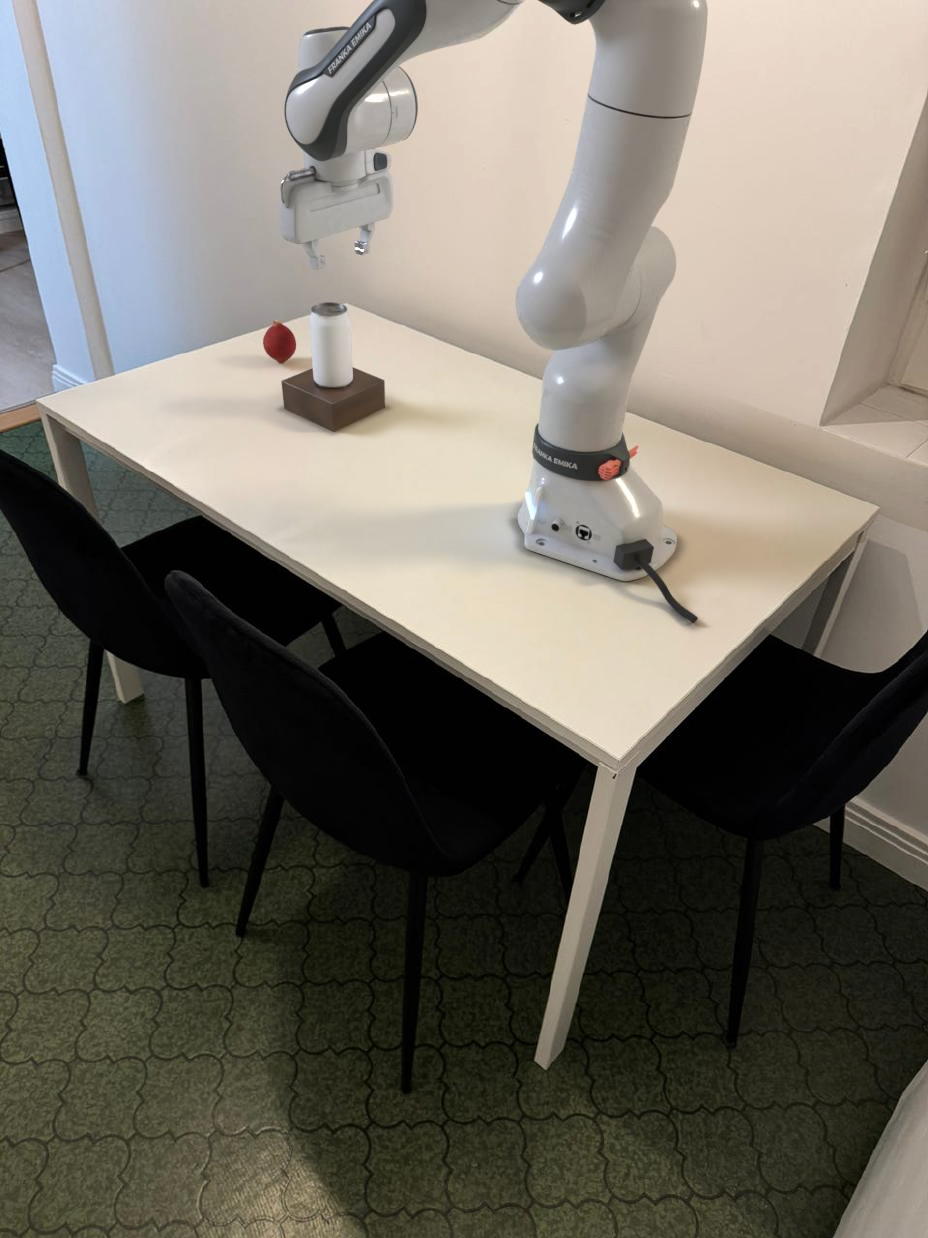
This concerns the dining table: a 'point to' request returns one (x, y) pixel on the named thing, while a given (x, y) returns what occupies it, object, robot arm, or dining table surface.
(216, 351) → the dining table surface
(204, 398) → the dining table surface
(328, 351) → the can
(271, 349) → the onion
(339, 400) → the brown square block
